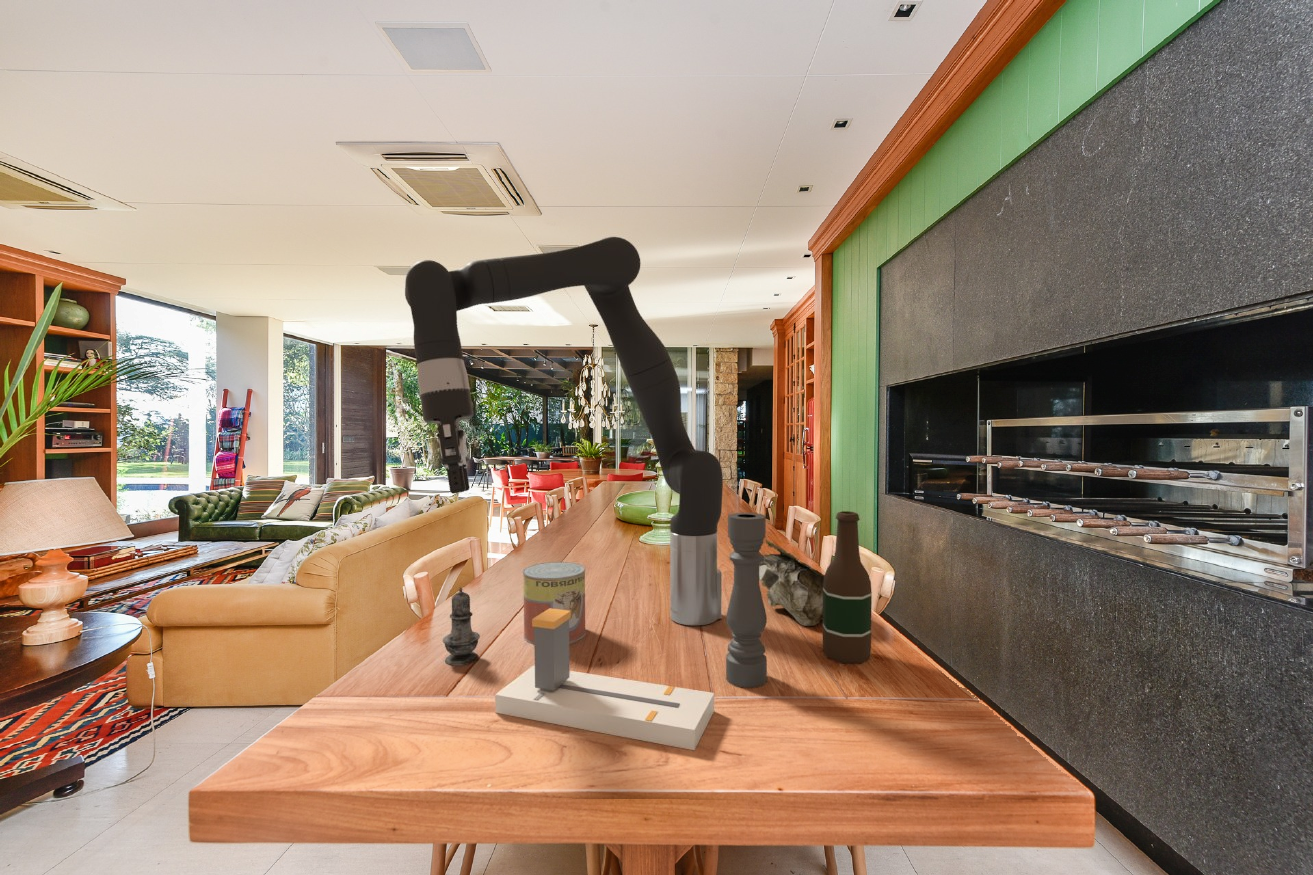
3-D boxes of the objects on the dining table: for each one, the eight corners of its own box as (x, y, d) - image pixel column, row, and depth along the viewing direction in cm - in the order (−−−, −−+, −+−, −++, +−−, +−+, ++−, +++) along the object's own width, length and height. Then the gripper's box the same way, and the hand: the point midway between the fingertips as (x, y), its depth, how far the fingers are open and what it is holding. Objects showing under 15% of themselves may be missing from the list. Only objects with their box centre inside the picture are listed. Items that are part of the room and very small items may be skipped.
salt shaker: (469, 667, 96) (467, 593, 95) (435, 664, 97) (434, 591, 96) (486, 653, 101) (485, 583, 101) (455, 650, 103) (453, 581, 102)
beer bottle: (873, 650, 102) (874, 510, 101) (868, 668, 95) (870, 517, 94) (826, 643, 105) (827, 507, 104) (818, 659, 98) (819, 514, 97)
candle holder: (769, 672, 93) (770, 513, 92) (763, 690, 87) (764, 520, 86) (730, 667, 95) (730, 511, 94) (721, 684, 89) (721, 518, 88)
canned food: (544, 651, 102) (543, 581, 102) (512, 633, 111) (511, 569, 110) (597, 635, 110) (597, 570, 109) (564, 619, 118) (563, 558, 118)
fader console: (495, 712, 81) (495, 693, 81) (533, 681, 91) (533, 664, 91) (694, 750, 72) (694, 729, 72) (714, 710, 81) (714, 692, 81)
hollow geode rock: (771, 607, 139) (727, 562, 138) (809, 568, 140) (766, 523, 139) (816, 651, 111) (761, 595, 110) (863, 602, 112) (809, 546, 111)
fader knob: (532, 687, 82) (532, 619, 82) (550, 673, 87) (549, 608, 86) (554, 691, 81) (554, 621, 81) (571, 676, 86) (570, 610, 85)
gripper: (466, 381, 89) (483, 489, 88) (472, 393, 103) (487, 487, 102) (412, 387, 87) (429, 498, 87) (426, 399, 101) (441, 494, 100)
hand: (460, 491), depth 94 cm, fingers open, 8 cm apart
